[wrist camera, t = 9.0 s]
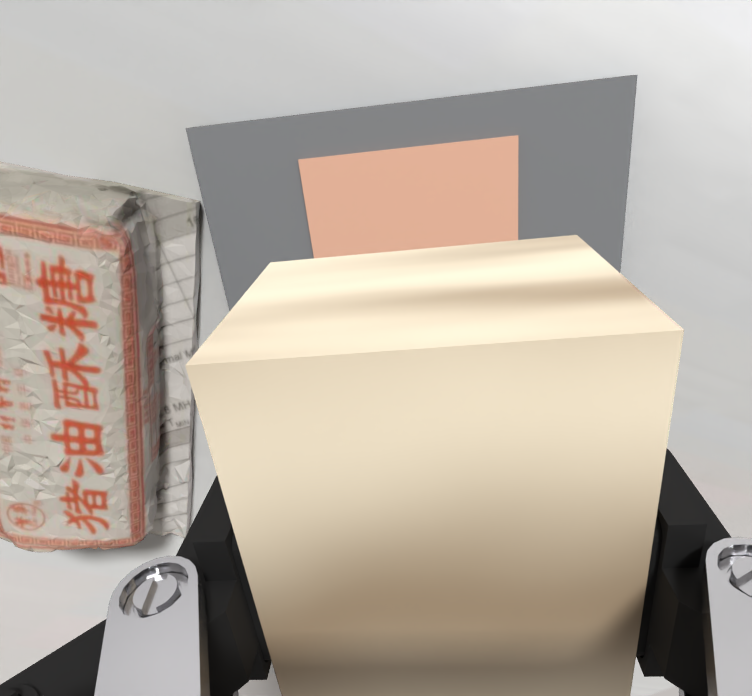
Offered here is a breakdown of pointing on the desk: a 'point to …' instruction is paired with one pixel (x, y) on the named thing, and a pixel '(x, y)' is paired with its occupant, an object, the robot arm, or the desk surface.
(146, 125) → the desk surface
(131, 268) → the packaged product
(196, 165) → the mat
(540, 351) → the birch tile
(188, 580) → the robot arm
